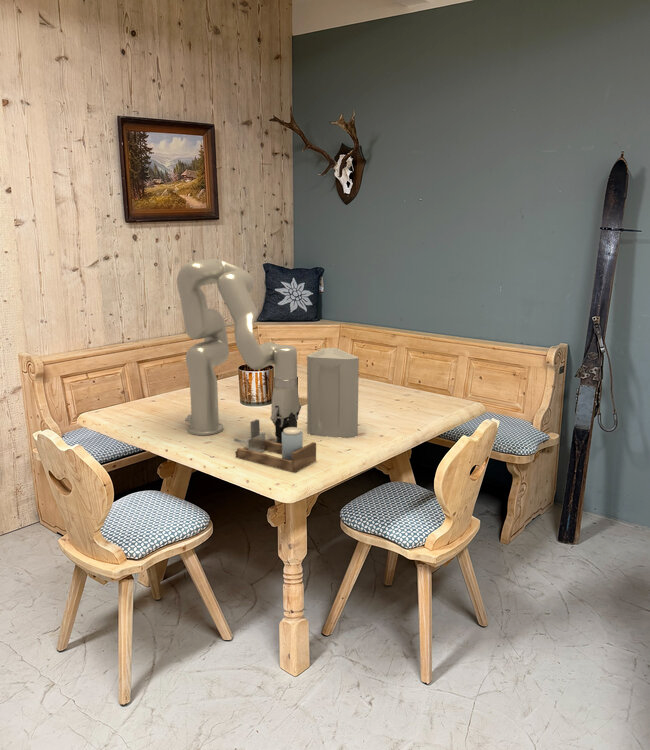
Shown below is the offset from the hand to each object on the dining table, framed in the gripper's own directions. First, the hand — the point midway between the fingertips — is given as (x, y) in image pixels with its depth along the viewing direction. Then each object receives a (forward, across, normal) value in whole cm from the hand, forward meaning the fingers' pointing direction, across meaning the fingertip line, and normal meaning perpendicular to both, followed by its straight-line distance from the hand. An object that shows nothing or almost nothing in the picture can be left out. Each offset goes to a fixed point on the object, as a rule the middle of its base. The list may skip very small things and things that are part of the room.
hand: (286, 433), depth 224 cm
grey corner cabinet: (+4, -18, +5) cm, 19 cm away
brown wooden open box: (+3, +14, +6) cm, 16 cm away
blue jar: (+3, +14, +12) cm, 19 cm away
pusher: (+3, +14, -6) cm, 16 cm away
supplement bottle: (+4, 0, 0) cm, 4 cm away
